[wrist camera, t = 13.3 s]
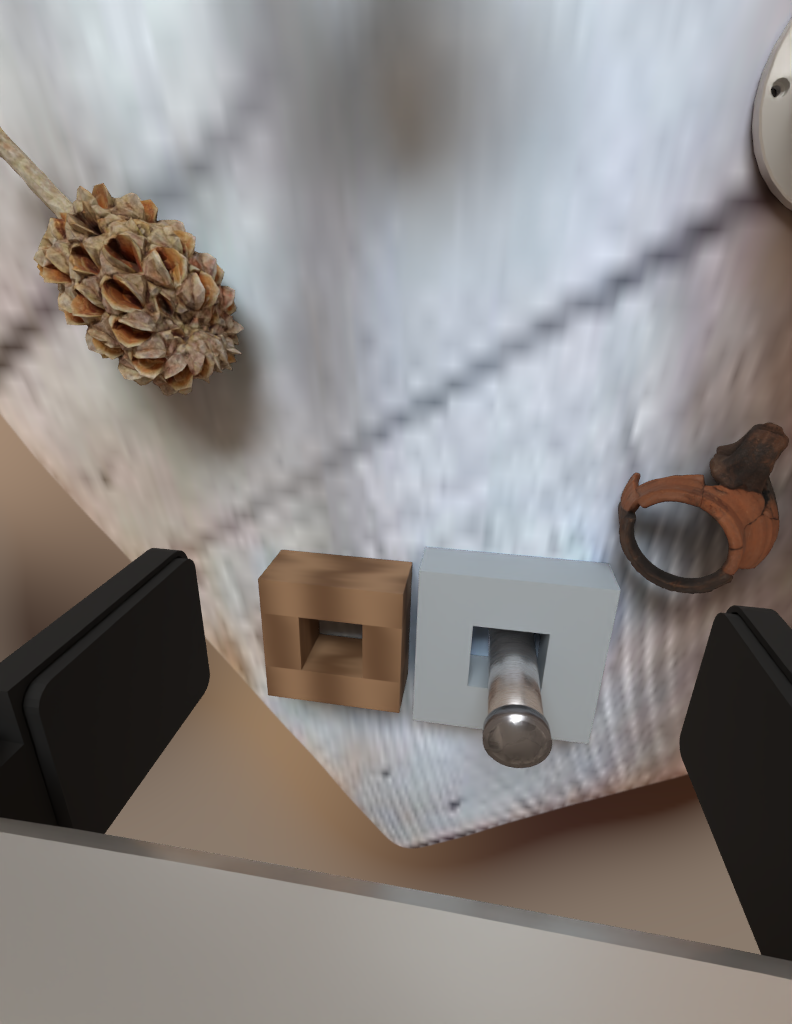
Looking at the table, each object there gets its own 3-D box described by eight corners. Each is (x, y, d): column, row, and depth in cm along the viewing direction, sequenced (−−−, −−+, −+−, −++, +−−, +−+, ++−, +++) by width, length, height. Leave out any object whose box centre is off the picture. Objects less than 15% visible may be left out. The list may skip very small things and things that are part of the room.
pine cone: (299, 310, 38) (238, 316, 29) (223, 408, 41) (148, 442, 32) (37, 58, 34) (-125, -25, 25) (-19, 189, 38) (-179, 158, 29)
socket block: (609, 563, 41) (620, 590, 37) (580, 708, 46) (588, 744, 43) (425, 546, 43) (419, 570, 39) (418, 687, 48) (412, 720, 45)
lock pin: (540, 611, 43) (556, 720, 33) (533, 654, 45) (547, 772, 34) (487, 606, 44) (485, 711, 33) (482, 648, 46) (480, 762, 35)
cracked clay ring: (742, 569, 40) (716, 632, 35) (622, 507, 44) (582, 555, 39) (851, 429, 33) (839, 482, 27) (694, 370, 36) (656, 406, 31)
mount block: (412, 562, 44) (402, 594, 39) (407, 672, 48) (399, 712, 43) (281, 549, 45) (258, 579, 41) (288, 657, 49) (268, 695, 45)
